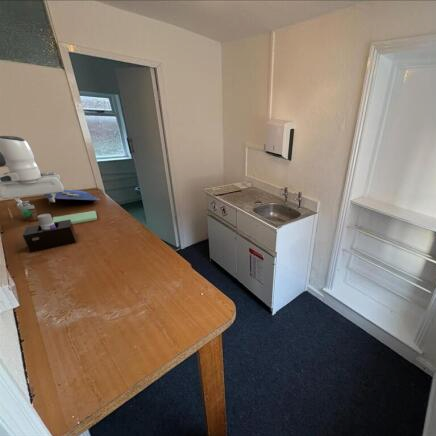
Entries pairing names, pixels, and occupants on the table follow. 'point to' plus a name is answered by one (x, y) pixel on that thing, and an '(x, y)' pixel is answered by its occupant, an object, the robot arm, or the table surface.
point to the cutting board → (77, 217)
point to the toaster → (49, 236)
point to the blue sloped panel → (72, 195)
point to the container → (46, 221)
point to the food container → (28, 211)
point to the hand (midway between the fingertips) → (39, 203)
